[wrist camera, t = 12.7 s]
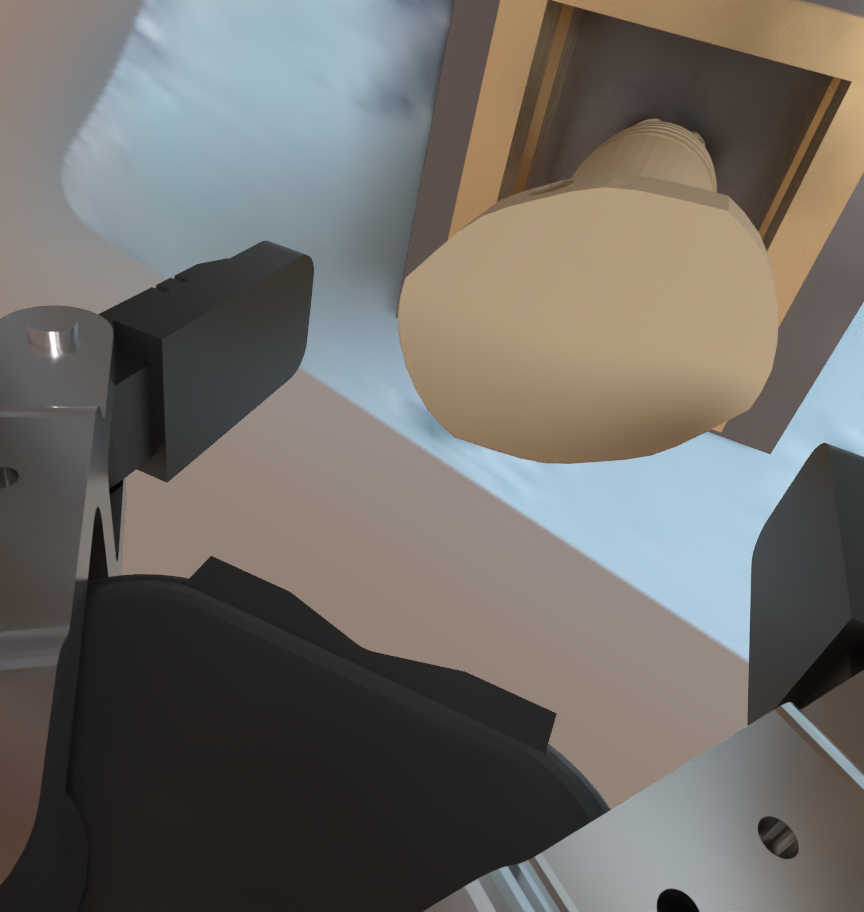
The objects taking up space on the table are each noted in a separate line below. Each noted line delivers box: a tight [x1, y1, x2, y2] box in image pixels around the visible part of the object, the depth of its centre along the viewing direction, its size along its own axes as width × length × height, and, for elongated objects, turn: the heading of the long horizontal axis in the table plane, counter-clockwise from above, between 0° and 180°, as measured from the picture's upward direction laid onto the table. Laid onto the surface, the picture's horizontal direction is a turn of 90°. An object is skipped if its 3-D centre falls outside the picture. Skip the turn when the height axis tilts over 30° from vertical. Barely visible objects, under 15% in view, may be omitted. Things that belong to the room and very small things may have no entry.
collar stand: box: [396, 0, 864, 454], centre depth 23 cm, size 17×16×6 cm
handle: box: [398, 118, 778, 464], centre depth 18 cm, size 5×6×15 cm
